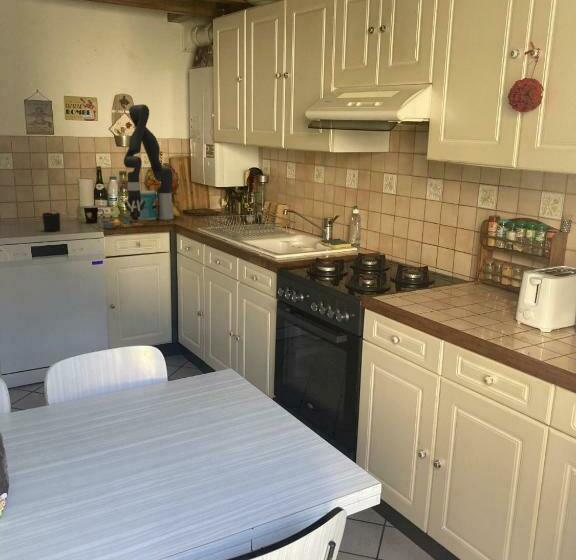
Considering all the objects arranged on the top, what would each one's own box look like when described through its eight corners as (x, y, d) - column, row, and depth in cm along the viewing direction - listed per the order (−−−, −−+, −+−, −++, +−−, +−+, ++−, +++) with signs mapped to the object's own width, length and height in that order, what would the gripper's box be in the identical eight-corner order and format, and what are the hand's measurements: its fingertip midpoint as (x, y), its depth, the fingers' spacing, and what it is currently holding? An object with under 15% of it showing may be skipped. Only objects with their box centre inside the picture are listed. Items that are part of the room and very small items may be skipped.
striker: (138, 223, 389) (137, 207, 386) (142, 224, 384) (141, 208, 381) (124, 224, 384) (123, 208, 381) (127, 225, 379) (127, 209, 376)
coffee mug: (81, 223, 388) (80, 207, 385) (91, 221, 395) (90, 205, 392) (95, 224, 382) (94, 208, 380) (105, 222, 390) (104, 206, 387)
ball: (118, 225, 381) (118, 219, 380) (121, 226, 378) (120, 219, 377) (112, 226, 378) (112, 219, 378) (114, 227, 375) (114, 220, 374)
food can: (136, 218, 409) (135, 190, 405) (154, 217, 414) (153, 190, 410) (140, 221, 399) (139, 192, 394) (159, 219, 404) (158, 192, 400)
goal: (108, 225, 380) (108, 220, 379) (114, 227, 372) (114, 222, 371) (97, 226, 376) (97, 221, 376) (103, 228, 368) (103, 223, 368)
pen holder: (55, 228, 367) (54, 211, 364) (64, 230, 361) (62, 213, 359) (40, 230, 360) (39, 213, 357) (49, 232, 354) (47, 215, 352)
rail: (138, 223, 390) (138, 220, 389) (143, 225, 384) (143, 222, 383) (116, 225, 382) (116, 222, 382) (121, 226, 376) (121, 224, 375)
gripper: (142, 188, 386) (143, 215, 390) (120, 189, 378) (122, 217, 383) (147, 189, 380) (148, 217, 385) (125, 190, 372) (126, 219, 377)
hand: (135, 217), depth 384 cm, fingers closed on striker, 3 cm apart
